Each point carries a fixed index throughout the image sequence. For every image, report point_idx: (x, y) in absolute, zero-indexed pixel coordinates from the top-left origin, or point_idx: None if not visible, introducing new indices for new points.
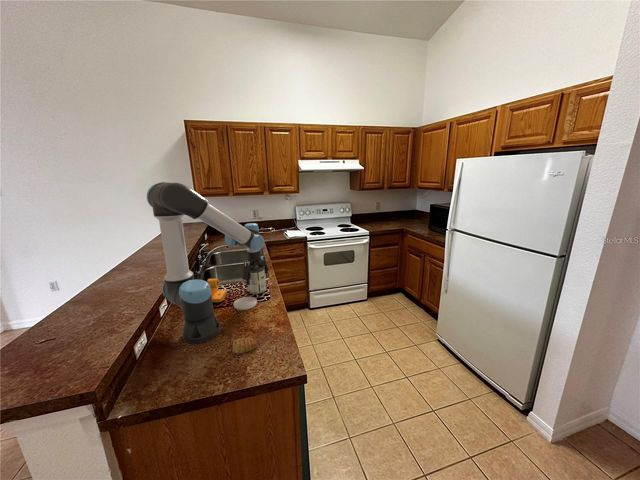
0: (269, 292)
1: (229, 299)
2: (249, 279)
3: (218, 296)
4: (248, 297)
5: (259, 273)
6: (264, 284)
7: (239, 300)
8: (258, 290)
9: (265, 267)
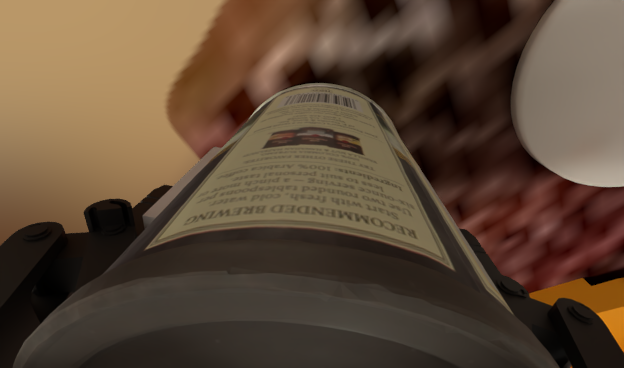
0: (313, 6)
1: (551, 253)
2: (491, 279)
3: (611, 329)
4: (543, 117)
5: (410, 218)
6: (298, 100)
7: (622, 156)
8: (384, 116)
9: (26, 309)
